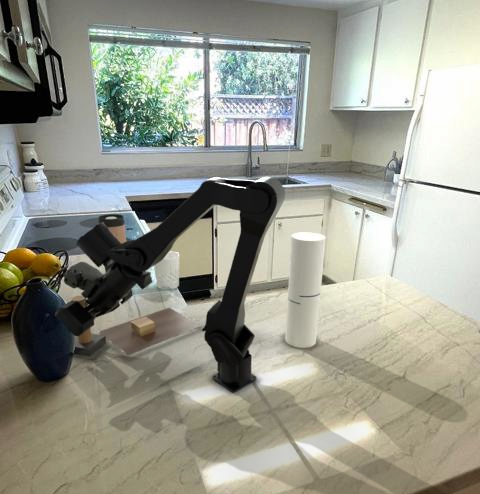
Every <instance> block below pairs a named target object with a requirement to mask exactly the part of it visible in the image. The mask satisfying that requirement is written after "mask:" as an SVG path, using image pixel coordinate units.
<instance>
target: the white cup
mask: <svg viewBox="0 0 480 494" xmlns="http://www.w3.org/2000/svg"><path fill="white" fill-rule="evenodd" d="M153 268H154V275H155V279H156V280H155V281H156V287H157V288H158V289H163V288H166V287H167V288H169V289H171V290H174V289H177V288H178V287H179V286H180V253H179V252H176V251H171V250H170V251H169V252H168V253H167V255H166V256H165V257H164V259H163V260H162V261H160V262H159V263H157V264H156V265H154V266H153Z"/></svg>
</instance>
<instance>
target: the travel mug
mask: <svg viewBox="0 0 480 494" xmlns="http://www.w3.org/2000/svg"><path fill="white" fill-rule="evenodd" d="M100 223H104V224H105V225H106V226H107V227H108V229H109V230H110V232H111V233H112V234H113V235H114V236H115V237H116V238H117V239H118V240H119V241H120V242H121V244H122V243H124V242H126V241H127V235H126V226H125V217H124V215H123V214H119V213H110V214H109V213H107V214H103V215H100V216H98V224H100ZM114 263H115V262H113V263H111V264H110V265H109V266H107V267H104V273H106V272H107V271H108V270H109V269H110V268H111V267H112V265H113V264H114Z"/></svg>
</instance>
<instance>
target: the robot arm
mask: <svg viewBox="0 0 480 494" xmlns="http://www.w3.org/2000/svg"><path fill="white" fill-rule="evenodd" d="M285 199H286V190H285V188H284V186H283V184H282V183H281V182H280V180H279V179H277V178H274V177H272V176H264V177H261V178H259V179H257V180H252V179H231V178H222V177H219V176H215V177H211V178H210V179H205V180H204V181H202V182H201V184H200V186H199V187H198V188H197V189H196V190H195V191H194V192H193V193H192V194H191V195H190V196H188V197H187V198H186V200H184V201H183V202H182V203H180V205H179V206H178V207H177V208H176V209H174V211H173V212H171V213H169V215H168V216H167V217H166V218H165V219H164V220H163V221H161V223H160V224H159V225H157V226H156V227H154V228H153V229H151V230H149V231H148V232H145V233H144V234H143V235H141V236H139V237H137V238H135V239H128V240H126V242H124V243H122V244H121V242H120V241H119V240H118V239H117V238H116V237H115V236H114V235H113V234H112V233H111V232H110V230H109V229H108V227H107V226H106V225H105V224H104V223H100V224H99V223H96V224H95V226H94V227H93V228H91V229H89V230H88V231H87V232H85V234H83V235H81V236H79V238H78V239H77V241H76V242H75V243H76V244H75V245H76V246H77V247H78V248H79V249H80V250H81V251H82V252H83V253H84V254H85V255H86V257H87V258H89V260H91V262H92V263H93V264H94V265H95V266H96V267H97V268H96V267H95V266H93V265H91V264H89V263H88V262H85V261H79V262H77V263H75V264H73V265H71V266H70V267H69V268H68V269H66V272H65V273H63V275H62V276H63V283H64V285H67V286H68V287H70V288H72V289H73V290H74V289H79V290H80V291H82V292H81V293H80V294H81V295H80V296H83V297H84V298H86V300H85V301H84V303H85V304H86V305H87V306H86V307H85V308H84V307H83V306H82V305H81V304H80V303H79V302H78V301H73V300H72V299H71V300H70V301H68V302H67V303H65V304H63V305H61V306H60V307H59V308H58V309H57V310H56V311H55V312H54V313H55V314H54V317H56V319H57V320H58V321H60V323H61V324H62V325H63V326H64V327H65V328H66V330H67V329H68V330H69V331H70V332H71V333H70V332H69V331H68V330H67V331H68V332H69V333H70V334H72V335H73V336H74V337H76V336H78V337H79V336H80V335H81V334H83V333H84V332H85V331H87V330H88V329H89V328H92V327H94V326H95V320H96V318H99V317H101V316H105V315H107V314H110V313H112V312H114V311H116V310H117V309H118V308H120V306H121V305H124V304H125V303H126V302H128V301H130V299H131V298H132V297H133V296H134V295H133V290H132V289H133V288H135V286H136V285H137V286H138V287H139V288H140V289H141V290H144V289H146V288H147V287H148V286H149V285H151V284H152V283H153V278H152V275H151V274H152V272H151V271H148V270H149V269H151V268H152V267H153V268H154V265H156V264H157V263H159V262H160V261H162V260H163V259H164V257H165V256H166V255H167V253H168V252H169V251H171V250H172V248H173V246H174V244H175V242H176V241H177V240H178V239H179V238H180V237H181V236H182V235H183V234H185V233H186V232H187V231H188V230H190V228H191V227H193V226H194V225H195V224H196V223H197V222H198V221H199V220H200V219H201V218H203V217H204V216H206V214H207V213H209V212H210V211H211V210H212V209H213V208H214V207H215V206H220V207H223V208H226V209H229V210H233V211H239V225H240V234H239V237H238V241H237V244H236V248H235V250H234V254H233V255H234V256H233V259H232V262H231V266H230V268H229V273H228V277H227V280H226V284H225V287H224V291H223V294H222V298H221V300H220V299H217V300H216V301H215V302H214V304H213V305H212V306H211V307H210V309H208V310H207V312H206V315H205V316H206V317H205V325H204V326H203V328H202V329H201V331H202V332H204V336H203V338H204V341H205V342H206V343H207V345H208V346H209V348H210V350H211V352H212V355H213V357H214V359H215V362H216V363H217V368H216V369H217V373H214V374H213V375H212V376H211V377H212V378H211V379H212V380H213V381H215V382H216V383H218V384H220V385H221V386H222V387H224V388H225V389H227V390H228V391H229V392H231V393H236V392H238V391H240V390H241V389H243V388H245V387H247V386H248V385H250V384H252V383H253V382H256V381H257V379H258V377H257V375H254V374H253V373H252V361H253V360H252V358H253V356H252V354H250V350H249V349H250V347H251V346H252V344H253V342H254V339H255V338H256V335H255V334H254V332H252V331H251V330H250V328H249V327H247V326H246V324H245V318H246V309H245V307H246V306H245V302H246V299H247V295H248V293H249V288H250V284H251V282H252V279H253V275H254V272H255V269H256V266H257V262H258V260H259V256H260V254H261V250H262V247H263V243H264V240H265V237H266V234H268V233H267V232H268V231H269V229H270V227H271V226H272V224H273V222H274V221H275V218H276V217H277V215H278V213H279V211H280V209H281V207H282V205H283V203H284V201H285ZM113 262H115V263H114V264H113V265H112V267H111V268H110V269H109V270H108V271H107V272H104V273H103V272H101V271H100V270H99V269H98V268H100V267H102V266H103V267H104V268H105V267H107V266H109V265H110V264H111V263H113Z"/></svg>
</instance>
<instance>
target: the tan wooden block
mask: <svg viewBox="0 0 480 494" xmlns="http://www.w3.org/2000/svg"><path fill="white" fill-rule="evenodd" d="M142 317H143V316H142ZM139 318H140V317H139ZM136 319H137V318H136ZM133 320H134V319H133ZM130 321H131V320H130ZM131 329H132V331H133V332H134V333H135V334H137V335H138V336H140V337H142V336H144V335H147V334H150V333H152V332H155V323H154V322H153V321H152V320H150V319H148V318H147V317H143V318H140V319H137V320H134V321H131Z"/></svg>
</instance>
